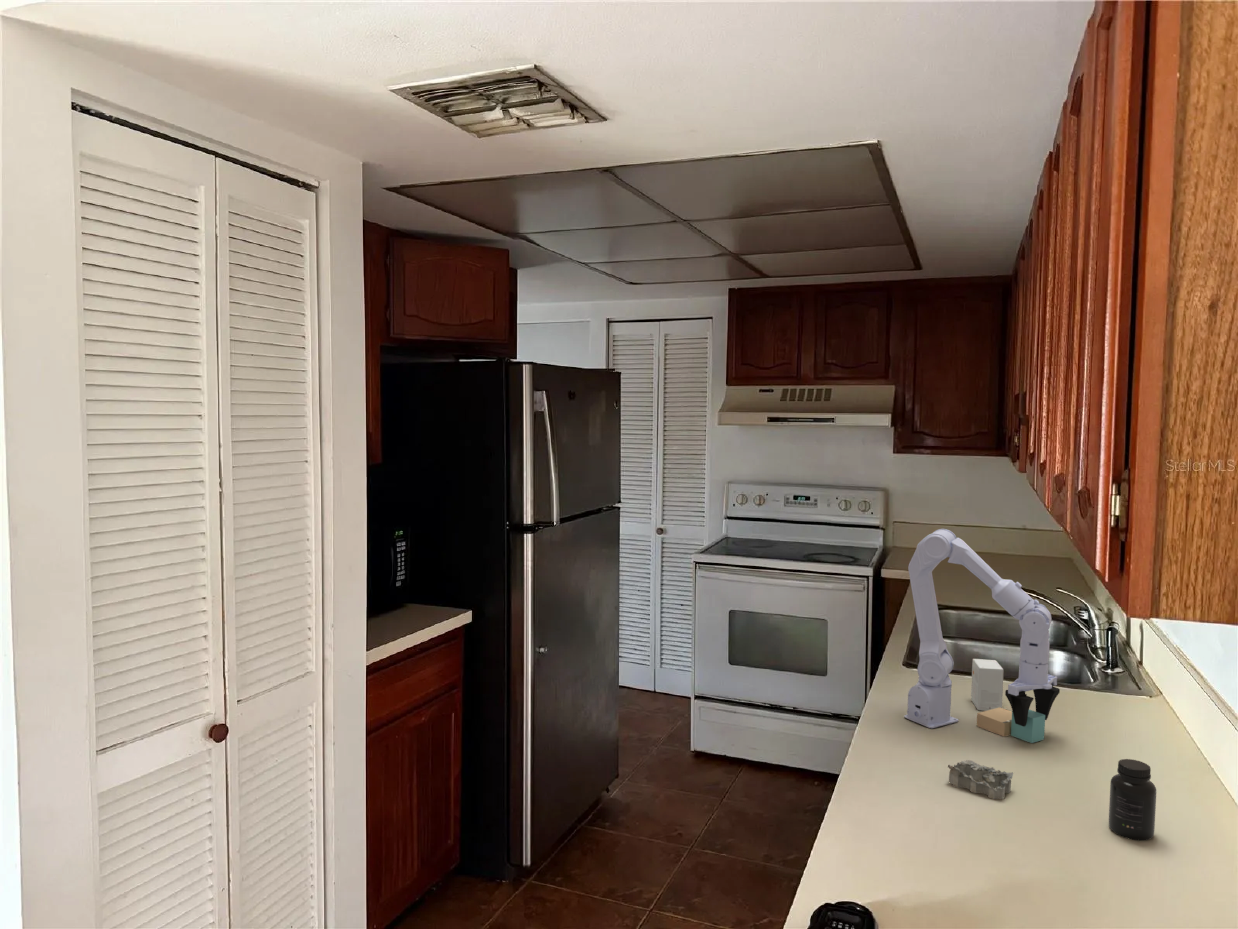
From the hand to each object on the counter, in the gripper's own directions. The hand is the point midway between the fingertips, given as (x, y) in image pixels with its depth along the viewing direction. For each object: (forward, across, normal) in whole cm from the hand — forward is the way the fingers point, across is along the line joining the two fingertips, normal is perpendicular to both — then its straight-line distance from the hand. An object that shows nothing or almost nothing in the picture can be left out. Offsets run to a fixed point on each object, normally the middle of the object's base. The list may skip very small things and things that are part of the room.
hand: (1031, 721), depth 188 cm
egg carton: (+4, -30, -10) cm, 32 cm away
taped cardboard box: (+4, 0, +7) cm, 8 cm away
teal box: (+4, 0, +1) cm, 4 cm away
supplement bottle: (+4, -23, -34) cm, 41 cm away
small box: (+4, +9, +18) cm, 21 cm away
